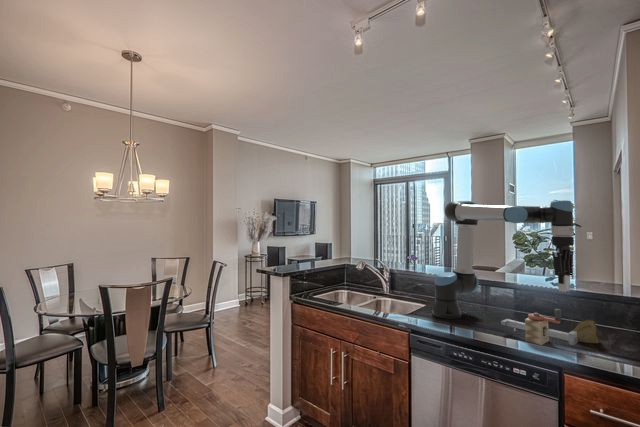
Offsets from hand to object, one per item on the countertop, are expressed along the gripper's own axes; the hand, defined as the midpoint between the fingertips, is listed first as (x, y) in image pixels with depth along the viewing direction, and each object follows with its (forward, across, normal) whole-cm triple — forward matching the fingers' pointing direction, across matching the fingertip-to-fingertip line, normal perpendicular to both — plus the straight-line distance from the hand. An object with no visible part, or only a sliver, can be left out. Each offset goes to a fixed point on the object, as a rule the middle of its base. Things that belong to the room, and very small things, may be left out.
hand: (564, 290), depth 134 cm
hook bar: (+20, -7, +8) cm, 22 cm away
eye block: (+23, -7, +8) cm, 25 cm away
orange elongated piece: (+13, -7, +5) cm, 15 cm away
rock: (+23, +10, -2) cm, 25 cm away
